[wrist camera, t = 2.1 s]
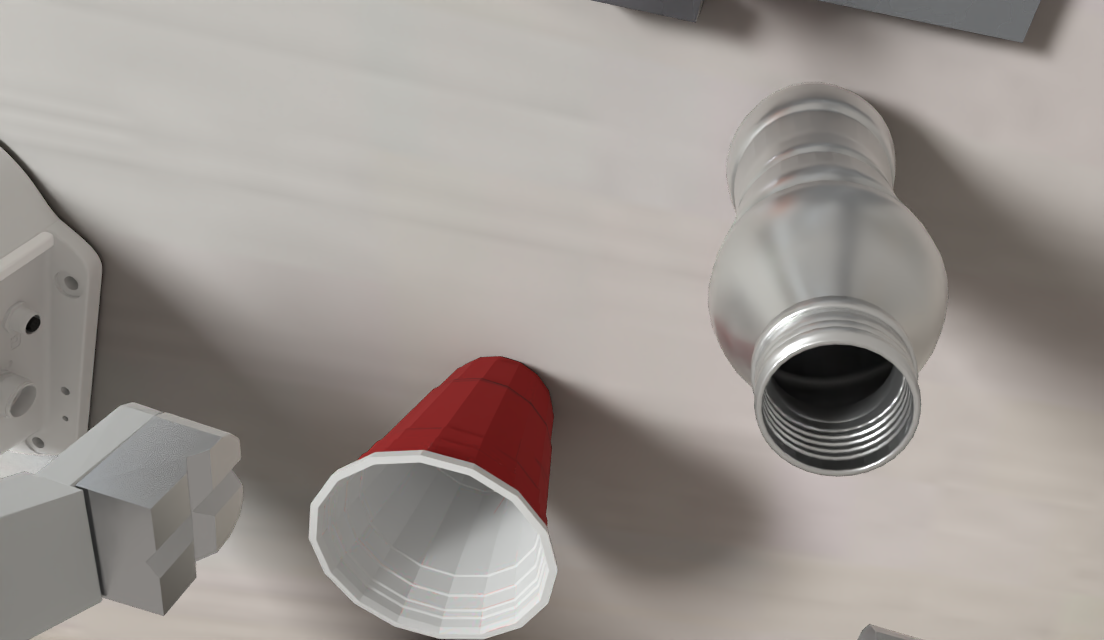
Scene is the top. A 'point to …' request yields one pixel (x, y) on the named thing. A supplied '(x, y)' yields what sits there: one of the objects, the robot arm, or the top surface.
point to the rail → (663, 7)
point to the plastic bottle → (825, 282)
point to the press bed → (959, 14)
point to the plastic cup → (448, 509)
